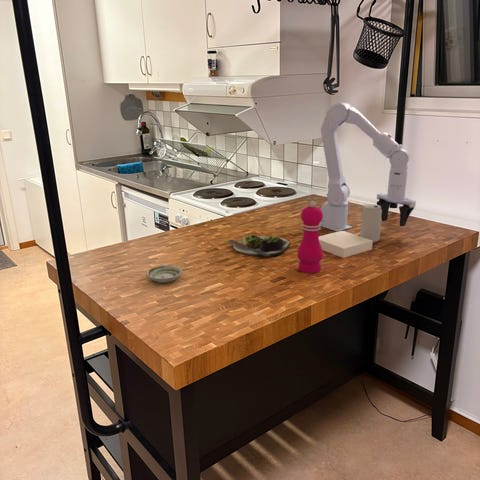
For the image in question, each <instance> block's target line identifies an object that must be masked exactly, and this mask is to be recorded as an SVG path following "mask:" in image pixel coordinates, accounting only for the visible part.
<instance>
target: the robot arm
mask: <svg viewBox="0 0 480 480" xmlns="http://www.w3.org/2000/svg"><path fill="white" fill-rule="evenodd" d="M344 123H346V124H351V125H355V126H356V127H358V128H359V129H360V130H361V131H362V132H363V133H364V134H366V135H367V136H368V138H370V139H371V140H372V145H373V147H374V148H375V149H376V150H377V151H379V152H380V154H382V155H383V156H384V157H385V158H386V159H389V160H388V161H389V164H390V169H389V174H388V175H389V176H388V185H387V193H381V192H380V193H377V194H376V200H378V201H376V205H379V206H381V210H382V216H381V222H387V221H388V219H389V218H388V216H389V209H390V206H391V204H392V203H394V204H398V205H402V206H398V208H399V210H398V211H399V227H405V226H406V223H407V222H408V219H409V217H410V215H411V213H412V212H413V210H414V209H415V208H416V203H417V202H416V200H414V199H410V198H407V197H406V189H407V188H406V187H407V178H408V167H409V166H408V163H409V161H410V158H411V157H410V156H411V155H410V153H409V151H408V149H407V148H405V147H403V145H402V144H401V143H400V144H399V143H398V142H397V141H395V139H394V138H393V134H391V133H387V132H380V131H379V129H377V128H376V126H374V125H373V124H372V123H371V121H369V120H368V118H367V117H366V116H364V114H362V113H361V112H360V111H359V110H358V109H357V108H355V107H354V106H352V105H351V103H349V102H346V101H341V102H336V103H334V104H332V105H331V106H330V107H329V108H328V110H326V112H325V116H324V119H323V122H322V125H321V127H320V134H321V139H322V145H323V151H324V152H323V153H324V156H325V157H324V158H325V163H326V164H325V165H326V169H327V176H328V181H327V189H328V190H327V193H326V199H327V201H324V203H323V204H322V206H321V208H320V209H321V211H322V213H323V219H322V221H321V222H320V224H321V226H320V227H321V228H325V229H328V230H331V231H335V232H339V231H345V230H348V229H352V227H353V226H351V225H348V212H349V211H348V210H349V209H348V208H349V202H348V198H349V196H350V193H351V192H350V191H351V190H350V187H349V186H348V185H347V182H346V178H345V177H344V174H343V173H344V172H343V167H342V162H341V155H340V148H339V142H338V136H337V131H338V130H339V129H340V128H341V126H342V124H344Z"/></svg>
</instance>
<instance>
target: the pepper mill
mask: <svg viewBox="0 0 480 480" xmlns="http://www.w3.org/2000/svg"><path fill="white" fill-rule="evenodd" d="M316 203H317V202H315V201H314V200H311V201H309V202H308V206H306V207H304V208H303V209H302V210H301V213H300V219H301V221H302V227H301V228H302V230H303V237H302V241H301V243H300V245H299V247H298V250H297V254H296V256H297V258H298V260H299V262H298V270H299V271H300V272H302V273H306V274H314V273H315V274H316V273H318V272H320V271H321V270H322V269H321V268H322V264H321V261H322V259H323V258H324V250H322V247H321V245H320V242H319V232H320V230H321V227H322V226H321V224H320V222H321V221H322V219H323V213H322V211H321V208H319V207H318V206H316Z"/></svg>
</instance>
